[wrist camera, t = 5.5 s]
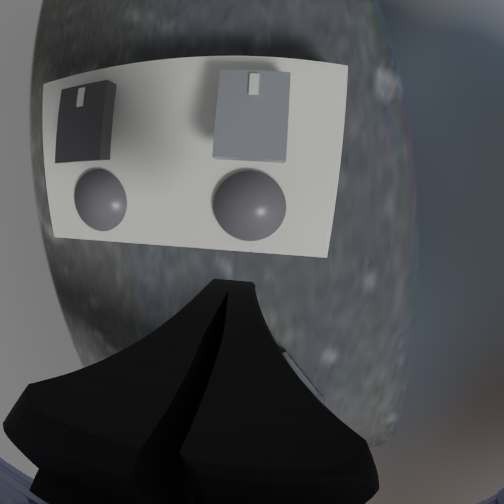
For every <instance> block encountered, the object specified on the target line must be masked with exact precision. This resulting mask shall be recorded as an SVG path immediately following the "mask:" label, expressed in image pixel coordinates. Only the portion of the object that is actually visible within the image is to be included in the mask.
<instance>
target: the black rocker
mask: <svg viewBox="0 0 504 504" xmlns="http://www.w3.org/2000/svg"><path fill="white" fill-rule="evenodd" d="M116 86H117V84H115V83H113V82H111V81H109V80H103V81H98V82H93V83H88V84H83V85H79V86H74V87H70V88H66V89H62V90H61V97H60V105H59V113H58V122H57V134H56V149H55V163H72V162H84V161H99V160H110V151H111V135H112V122H113V112H114V102H115V94H116Z"/></svg>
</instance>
